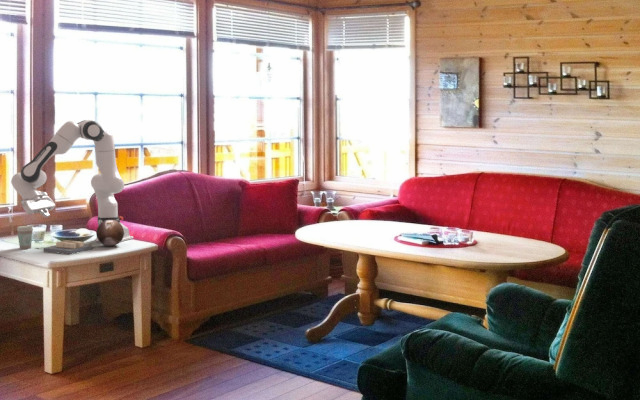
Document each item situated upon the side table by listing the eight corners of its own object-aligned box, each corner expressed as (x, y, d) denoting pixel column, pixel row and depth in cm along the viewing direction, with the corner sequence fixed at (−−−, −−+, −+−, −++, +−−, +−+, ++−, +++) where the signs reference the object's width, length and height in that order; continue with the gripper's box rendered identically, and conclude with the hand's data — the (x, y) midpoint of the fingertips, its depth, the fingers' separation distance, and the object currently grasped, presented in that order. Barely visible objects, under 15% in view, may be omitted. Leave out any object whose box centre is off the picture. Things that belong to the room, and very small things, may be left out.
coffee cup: (19, 250, 444) (19, 228, 442) (15, 247, 451) (14, 226, 449) (35, 248, 449) (35, 227, 448) (31, 246, 456) (30, 225, 454)
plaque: (66, 240, 450) (83, 241, 445) (66, 244, 450) (83, 246, 446) (56, 242, 442) (74, 244, 438) (56, 247, 443) (74, 249, 438)
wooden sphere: (98, 249, 450) (97, 222, 448) (95, 244, 464) (94, 218, 462) (126, 247, 456) (125, 221, 454) (122, 243, 469) (121, 217, 468)
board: (65, 246, 457) (65, 242, 456) (92, 249, 450) (92, 245, 450) (43, 251, 440) (43, 248, 440) (70, 254, 433) (70, 250, 433)
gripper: (22, 196, 440) (37, 215, 437) (48, 192, 458) (62, 210, 456) (16, 204, 442) (31, 223, 440) (42, 199, 461) (56, 217, 458)
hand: (47, 216), depth 448 cm, fingers closed
